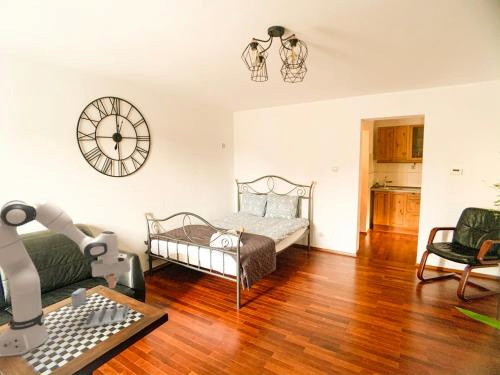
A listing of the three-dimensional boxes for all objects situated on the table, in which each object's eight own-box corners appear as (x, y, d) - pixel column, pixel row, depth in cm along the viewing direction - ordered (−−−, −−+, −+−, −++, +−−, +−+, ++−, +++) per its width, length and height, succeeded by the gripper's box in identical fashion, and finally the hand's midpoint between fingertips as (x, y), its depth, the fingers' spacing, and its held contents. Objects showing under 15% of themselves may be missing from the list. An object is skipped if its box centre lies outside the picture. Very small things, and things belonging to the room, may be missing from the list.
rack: (85, 328, 145) (84, 321, 144) (92, 314, 158) (91, 307, 158) (125, 320, 151) (125, 313, 150) (129, 307, 164) (128, 301, 164)
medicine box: (80, 300, 174) (79, 288, 173) (87, 300, 174) (85, 288, 173) (71, 307, 166) (70, 294, 165) (78, 307, 166) (77, 294, 165)
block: (108, 288, 154) (107, 277, 153) (111, 282, 162) (110, 271, 161) (114, 287, 155) (113, 276, 154) (116, 281, 163) (115, 270, 162)
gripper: (89, 263, 150) (91, 286, 152) (128, 257, 157) (130, 280, 158) (92, 259, 156) (94, 281, 158) (129, 254, 163) (131, 276, 164)
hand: (112, 281), depth 158 cm, fingers closed on block, 3 cm apart
